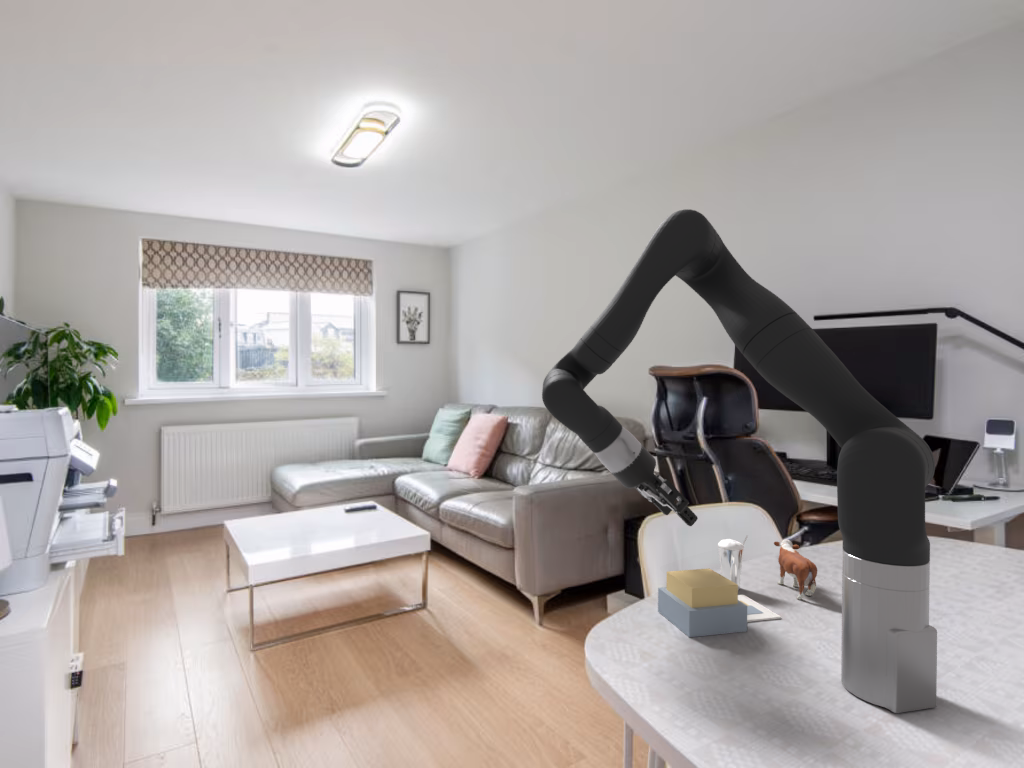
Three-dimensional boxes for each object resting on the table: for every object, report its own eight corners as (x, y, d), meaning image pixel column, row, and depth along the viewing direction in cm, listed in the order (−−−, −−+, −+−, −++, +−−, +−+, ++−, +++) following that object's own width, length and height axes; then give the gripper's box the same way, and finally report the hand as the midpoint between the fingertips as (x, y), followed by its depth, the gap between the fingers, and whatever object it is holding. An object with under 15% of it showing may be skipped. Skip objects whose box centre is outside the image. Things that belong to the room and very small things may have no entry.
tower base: (747, 631, 89) (747, 586, 89) (689, 637, 87) (689, 591, 87) (710, 606, 99) (711, 566, 99) (658, 611, 97) (658, 570, 97)
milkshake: (751, 592, 106) (752, 538, 106) (722, 592, 106) (722, 538, 106) (742, 584, 110) (742, 532, 110) (714, 583, 110) (714, 531, 110)
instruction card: (781, 618, 94) (781, 616, 94) (743, 622, 93) (743, 620, 93) (743, 596, 104) (743, 594, 104) (708, 599, 102) (708, 597, 102)
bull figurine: (792, 577, 114) (792, 536, 114) (822, 604, 101) (822, 557, 101) (769, 577, 115) (769, 536, 114) (796, 602, 101) (796, 556, 101)
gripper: (656, 445, 96) (716, 510, 99) (621, 437, 110) (674, 494, 113) (626, 477, 95) (688, 542, 98) (595, 465, 109) (649, 522, 112)
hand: (681, 516), depth 105 cm, fingers open, 8 cm apart
